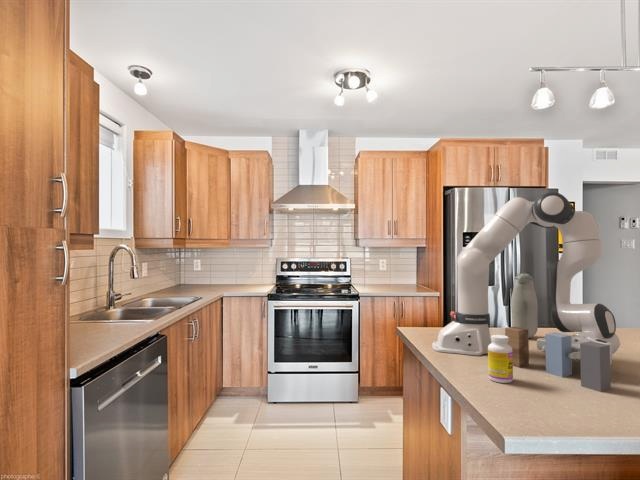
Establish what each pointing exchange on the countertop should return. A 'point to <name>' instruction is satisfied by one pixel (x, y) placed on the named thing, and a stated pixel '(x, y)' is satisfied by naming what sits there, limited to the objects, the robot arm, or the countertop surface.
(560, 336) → the slate-blue block
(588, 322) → the robot arm
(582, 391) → the countertop surface
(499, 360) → the supplement bottle
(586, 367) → the charcoal block
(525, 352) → the walnut block
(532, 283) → the grey-green tall rounded cylinder
